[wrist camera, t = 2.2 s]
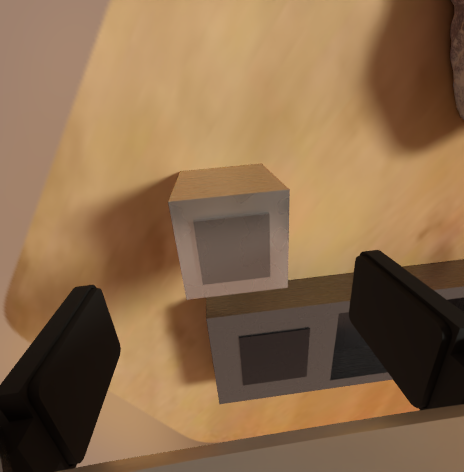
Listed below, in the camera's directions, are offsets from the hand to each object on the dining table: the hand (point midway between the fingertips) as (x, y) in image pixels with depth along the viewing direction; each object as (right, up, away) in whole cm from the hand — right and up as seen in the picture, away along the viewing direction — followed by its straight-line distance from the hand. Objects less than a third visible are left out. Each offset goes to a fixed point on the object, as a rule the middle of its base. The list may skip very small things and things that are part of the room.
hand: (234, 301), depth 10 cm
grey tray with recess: (+9, -5, +13) cm, 16 cm away
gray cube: (-1, +4, +7) cm, 9 cm away
